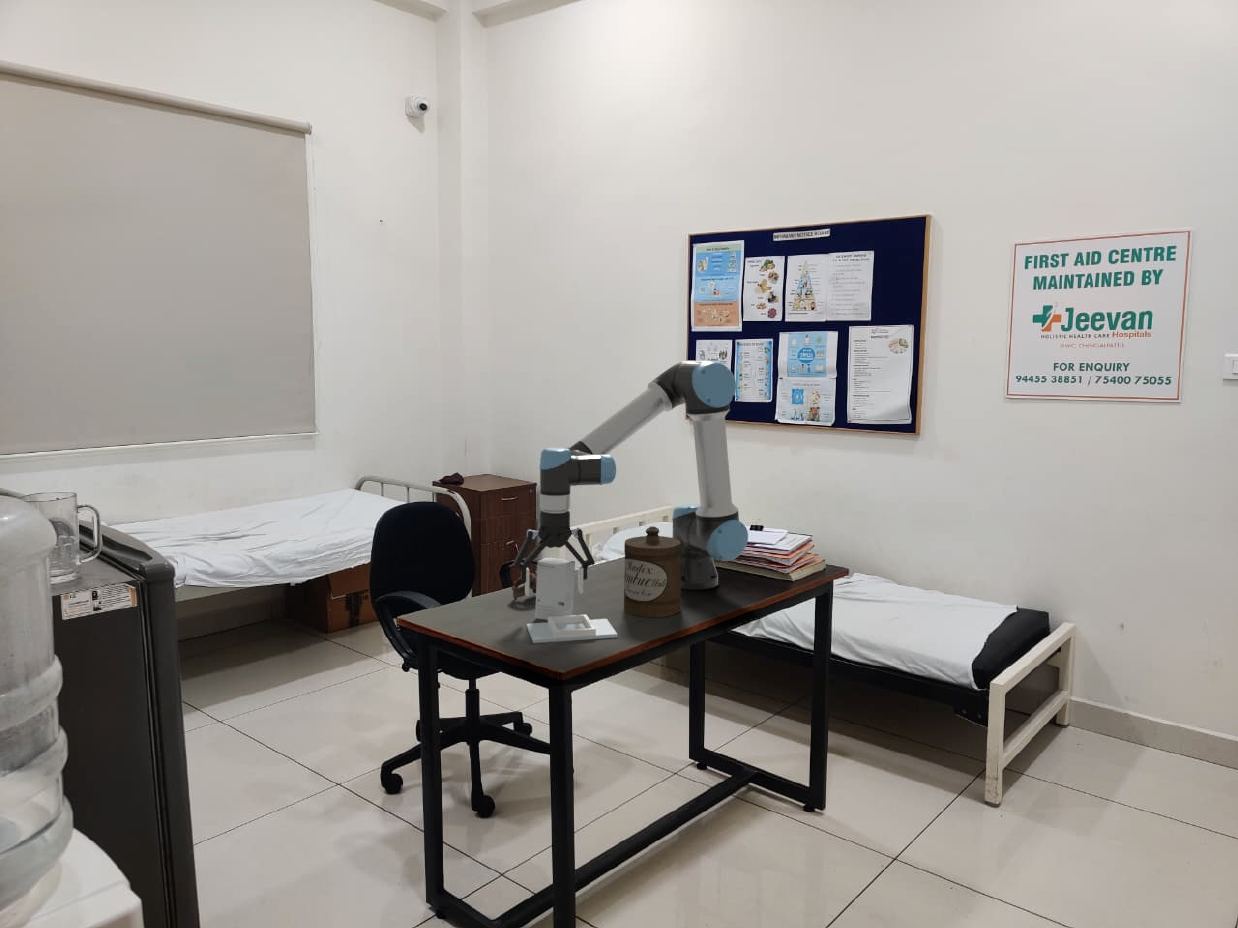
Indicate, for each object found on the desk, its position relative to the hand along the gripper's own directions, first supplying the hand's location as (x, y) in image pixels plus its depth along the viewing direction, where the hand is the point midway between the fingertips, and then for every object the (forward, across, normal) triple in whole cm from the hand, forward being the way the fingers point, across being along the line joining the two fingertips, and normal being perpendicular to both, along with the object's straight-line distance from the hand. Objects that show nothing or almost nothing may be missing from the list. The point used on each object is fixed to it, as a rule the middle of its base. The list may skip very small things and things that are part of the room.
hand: (554, 593), depth 224 cm
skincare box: (+7, 0, 0) cm, 7 cm away
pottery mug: (+7, +3, -18) cm, 19 cm away
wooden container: (+6, -26, -2) cm, 27 cm away
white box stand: (+6, -2, +12) cm, 14 cm away
